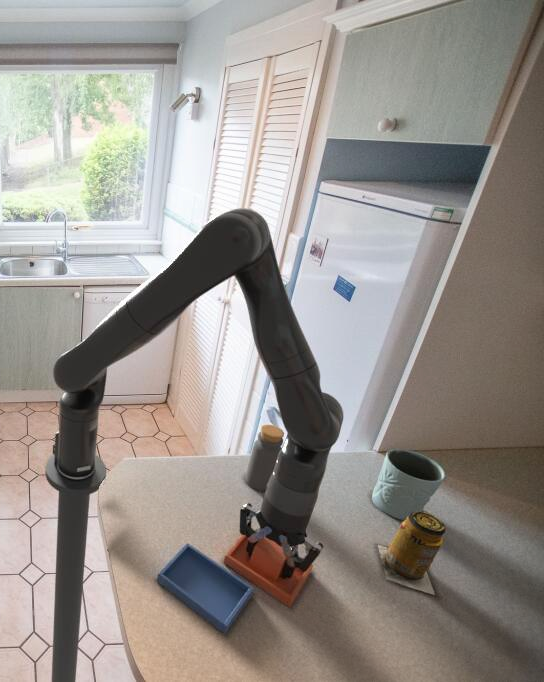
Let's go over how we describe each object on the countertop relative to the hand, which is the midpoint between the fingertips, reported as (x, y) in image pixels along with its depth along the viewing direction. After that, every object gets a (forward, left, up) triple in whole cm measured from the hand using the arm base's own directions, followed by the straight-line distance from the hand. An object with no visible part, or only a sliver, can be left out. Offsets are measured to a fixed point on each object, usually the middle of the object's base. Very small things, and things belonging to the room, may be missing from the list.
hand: (267, 564), depth 86 cm
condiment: (+18, +19, -1) cm, 26 cm away
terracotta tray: (0, 0, -1) cm, 1 cm away
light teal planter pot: (+13, +37, -1) cm, 39 cm away
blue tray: (-6, -13, -1) cm, 14 cm away
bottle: (-11, +22, -1) cm, 25 cm away
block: (0, 0, 0) cm, 0 cm away
